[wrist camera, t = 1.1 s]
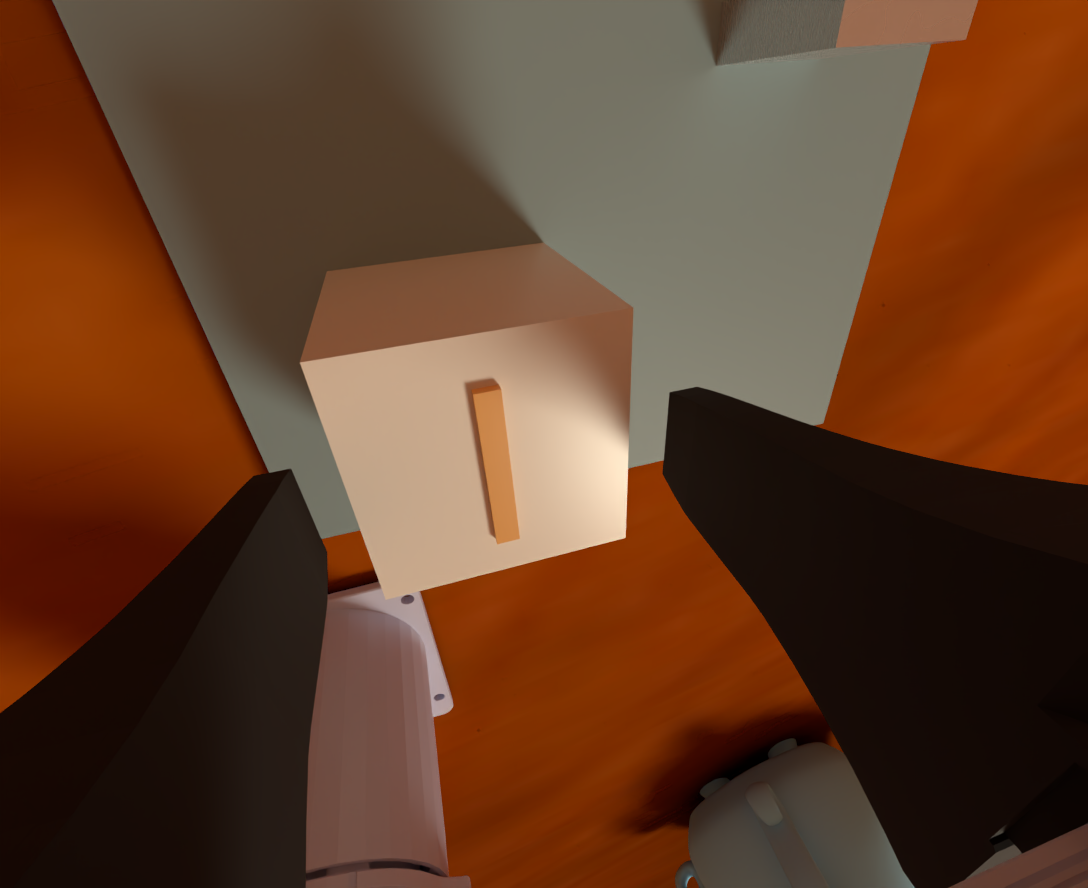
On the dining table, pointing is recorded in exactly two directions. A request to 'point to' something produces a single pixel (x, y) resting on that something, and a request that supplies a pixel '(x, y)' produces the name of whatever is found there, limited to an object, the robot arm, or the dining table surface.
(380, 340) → the cabinet with handle
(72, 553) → the dining table surface
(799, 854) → the decorative pot
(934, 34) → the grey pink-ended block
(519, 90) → the base plate
